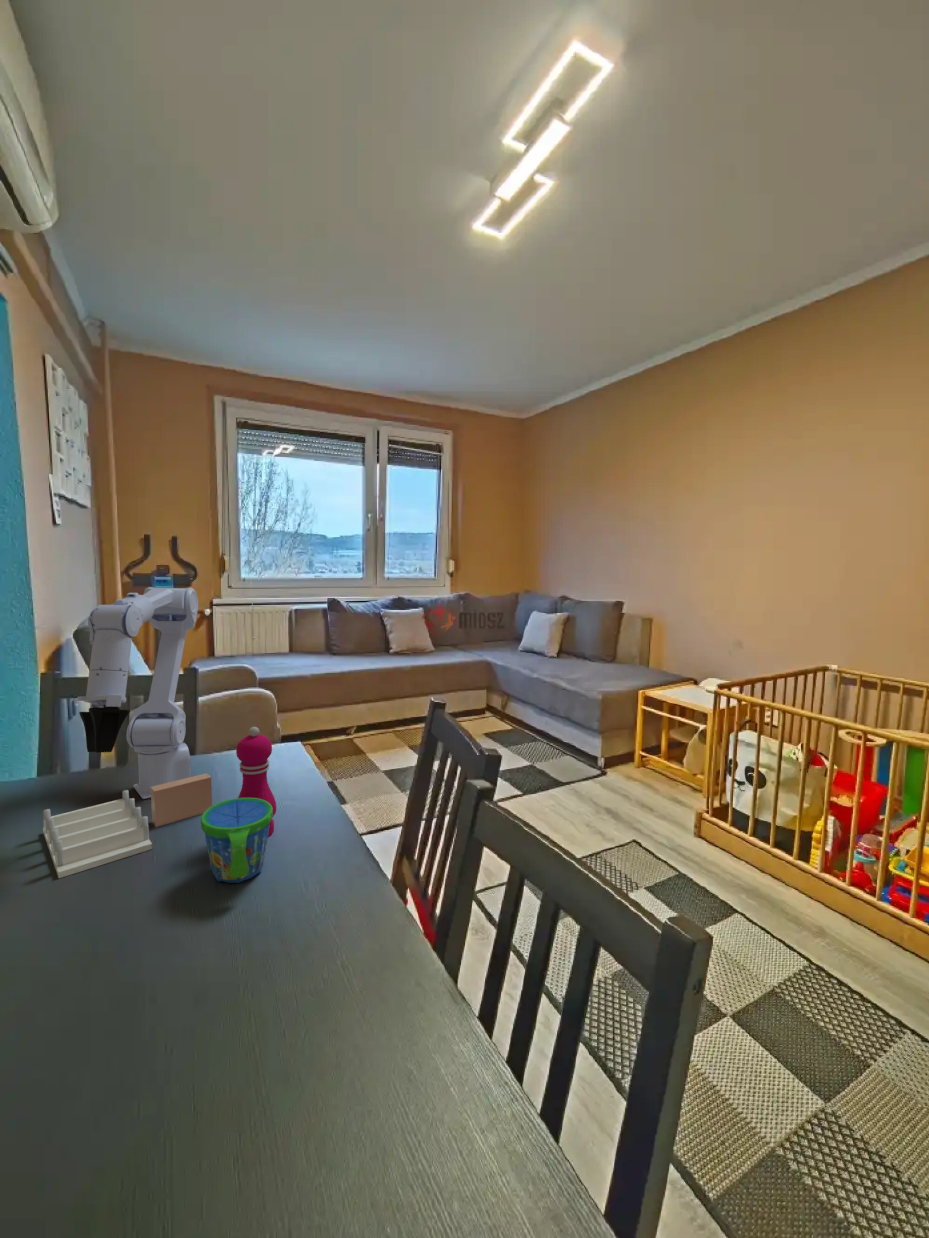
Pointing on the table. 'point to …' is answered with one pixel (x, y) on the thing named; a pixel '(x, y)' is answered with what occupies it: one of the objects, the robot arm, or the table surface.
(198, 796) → the tile
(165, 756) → the robot arm
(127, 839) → the dish rack
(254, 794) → the pepper mill
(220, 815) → the snack cup
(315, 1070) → the table surface
